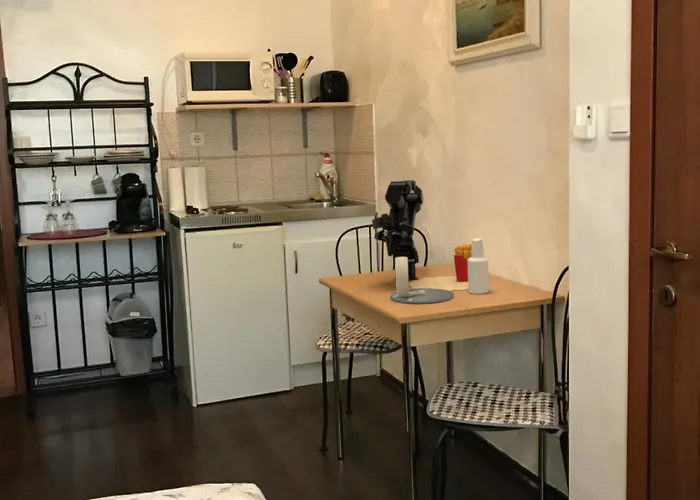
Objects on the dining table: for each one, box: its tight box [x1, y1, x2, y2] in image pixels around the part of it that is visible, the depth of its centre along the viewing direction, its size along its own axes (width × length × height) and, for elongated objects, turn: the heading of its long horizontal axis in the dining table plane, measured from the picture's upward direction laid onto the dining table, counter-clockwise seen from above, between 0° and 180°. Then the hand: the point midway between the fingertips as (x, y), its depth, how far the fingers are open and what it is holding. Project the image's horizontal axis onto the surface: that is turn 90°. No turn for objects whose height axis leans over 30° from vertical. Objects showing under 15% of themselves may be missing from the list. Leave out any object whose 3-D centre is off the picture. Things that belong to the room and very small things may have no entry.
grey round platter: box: [390, 287, 455, 305], centre depth 258 cm, size 21×21×2 cm
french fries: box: [453, 243, 472, 283], centre depth 282 cm, size 9×4×13 cm, turn 112°
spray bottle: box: [467, 237, 490, 295], centre depth 261 cm, size 7×7×18 cm
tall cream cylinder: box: [394, 257, 418, 297], centre depth 255 cm, size 8×4×13 cm, turn 112°
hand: (389, 256), depth 272 cm, fingers closed
